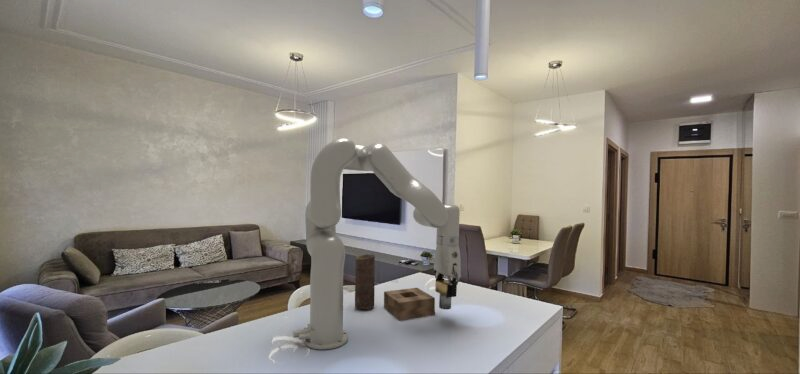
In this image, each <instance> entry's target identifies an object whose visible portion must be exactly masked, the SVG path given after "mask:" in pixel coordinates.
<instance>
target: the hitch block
mask: <svg viewBox="0 0 800 374" xmlns="http://www.w3.org/2000/svg"><path fill="white" fill-rule="evenodd" d="M435 299H436V297H434V296H432V295H431V294H429V293H427V292H425V291H424V290H422V289H420V288H418V287H412V288H411V287H410V288H403V289H395V290H386V291H384V292H383V308H384V309H385V310H386V311H387V312H388V313H390V315H392V316H393V317H394V318H395V319H397V320H398V321H404V320H410V319H415V318H423V317H429V315H430V316H434V315H435V314H436V313H435V312H436V309H435V308H436V301H435Z"/></svg>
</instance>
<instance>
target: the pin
mask: <svg viewBox="0 0 800 374" xmlns="http://www.w3.org/2000/svg"><path fill="white" fill-rule="evenodd" d="M448 285H449V282H448V279H444V280H437V281H436V280H435V292H436V293H438V294H439V296H438V297H439V300H438V301H439V303H438V305H439V306H438V308H439V309H441V310H451V309H452V297H447V290H448Z"/></svg>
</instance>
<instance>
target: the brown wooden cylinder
mask: <svg viewBox="0 0 800 374" xmlns="http://www.w3.org/2000/svg"><path fill="white" fill-rule="evenodd" d="M375 257H376V255H375V254H372V253H370V254H358V255H356V257H355V272H354V273H355V278H354V279H355V280H354V281H355V283H354V284H355V285H354V307H355V308H356V309H358V310H367V309H368V310H369V309H371V308H374V307H375V271H376V270H375V269H376V268H375V263H376V262H375Z"/></svg>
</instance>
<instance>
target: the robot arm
mask: <svg viewBox="0 0 800 374" xmlns="http://www.w3.org/2000/svg"><path fill="white" fill-rule="evenodd" d="M344 170H348V171H360V172H372V173H373V174H374V175H375V176H376V177H377V178H378V179H379V180H380V181H381V182H382V183H383V184H384V186H385V187H386V188H387V189H388V191H389V192H390V193H392V194H393V195H394V196H396V197H398V198H400V199H402V200H403V201H406V202H407V203H409V204H410V205H412V206H413V207H414V209H413V213H412V217H413V219H414V221H415V222H416V223H417V224H419V225H421V226H424V227H431V228H433V229H434V228H435V229H436V239H435V240H436V241H435V242H436V244H435V245H436V247H435V251H434V252H435V253H434V255H435V256H434V264H432V265H433V266H432V267H433V270H434V271H433V272H434V278H435V282H436V281H437V280H445V278H444V277H447V280H448V282H449V285H448V290H447V297H451V298H456V297H457V290H458V289H457V286H458V284H459V282H460V280H461V277H462V274H461V271H462V268H461V267H462V265H461V264H462V263H461V260H462V259H461V251H460V246H459V245H460V244H459V241H460V240H459V238H460V215H461V214H460V213H461V212H460V210H461V209H460V207H459V206H458V205H455V204H444V203H443V202H442V201H441V200H440V199H439V198H438V196H437V195H436V194H435V193H434V192H433V191H432V190H431V189H430V188H429V187H428V186H426V185H425V184H423V183H422V182H421V181H420V180H418V179H417V177H414V176H413V175H412V174H411V173H410V172H409V170H407V168H406V167H405V166H404V165H403V164H402V162H401V161H400V160H399V159H398V158H397V156H396V155H394V153H393V152H392V150H390V149H389V147H387V146H386V145H385V144H383V143H380V142H377V143H371V144H369V145H358V144H356V143H355V142H354V141H353V140H352V139H350V138H347V137H338V138H335V139H334V140H332V141H331V142H328V144H326V145H325V146H324V147H322V149H321V150H320V151H319V152H318V153H317V155H316V157H315V158H314V161H313V163H312V167H311V170H310V200H309V201H308V203H307V205H306V207H305V212H304V213H305V215H304V217H305V221H304V223H305V244H306V248H307V249H306V250H307V252H308V254H309V255H310V257H311V261H310V262H311V264H310V266H311V267H310V281H309V282H310V284H309V289H310V290H309V292H310V295H309V296H310V298H309V300H310V302H309V306H310V307H309V323H307V327H304V328H303V329H295V330H292V332H293V333H292V337H293V338H298V340H303V341H304V345H306V347H308V348H310V349H313V350H320V351H321V350H332V349H335V348H339V347H341V346H344V345H345V344H346V343H347V342H348V341H349V340H348V339H349V334H348V332H347V331H345V330H344V269H345V260H346V247H345V245H344V242H343V241H342V239H341V237H339V236H338V235H336V234H337V233H336V231H337V230H336V226H337V225H338V223H339V222H340V220H341V216H342V207H341V189H340V188H341V176H342V173H343V171H344Z"/></svg>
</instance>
